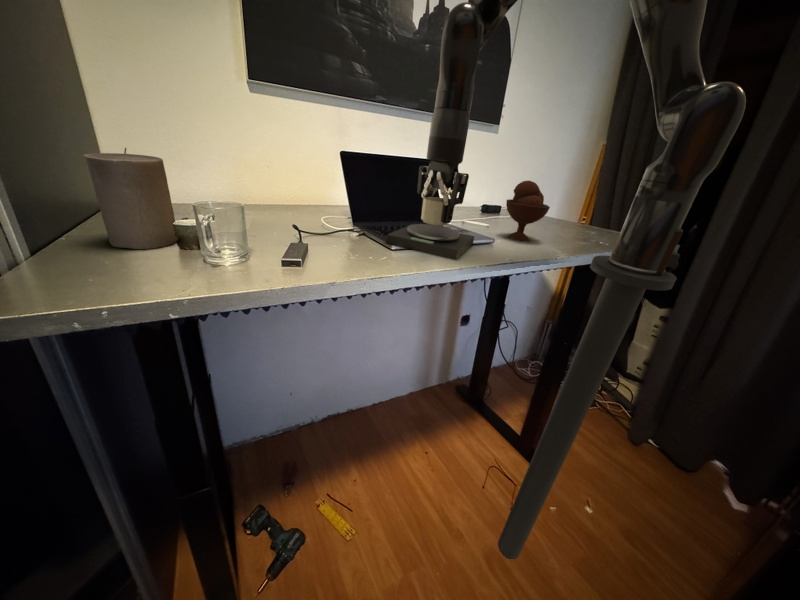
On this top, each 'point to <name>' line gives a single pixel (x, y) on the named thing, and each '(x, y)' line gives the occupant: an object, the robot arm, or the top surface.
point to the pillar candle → (133, 199)
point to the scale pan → (433, 232)
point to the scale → (431, 243)
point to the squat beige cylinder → (432, 210)
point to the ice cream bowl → (526, 207)
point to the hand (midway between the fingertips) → (435, 218)
